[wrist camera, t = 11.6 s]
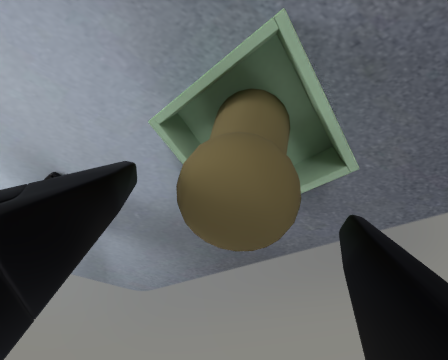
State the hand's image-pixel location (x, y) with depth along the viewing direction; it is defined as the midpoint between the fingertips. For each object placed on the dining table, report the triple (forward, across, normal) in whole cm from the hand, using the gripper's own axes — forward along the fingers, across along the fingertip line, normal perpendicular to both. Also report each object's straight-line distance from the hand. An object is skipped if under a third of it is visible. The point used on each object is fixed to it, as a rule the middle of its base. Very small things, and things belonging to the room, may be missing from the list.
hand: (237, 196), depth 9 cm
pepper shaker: (+10, 0, 0) cm, 10 cm away
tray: (+10, 0, 0) cm, 10 cm away
